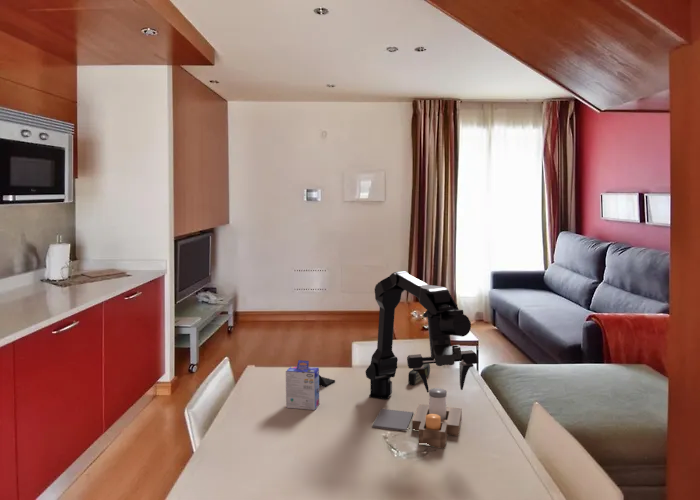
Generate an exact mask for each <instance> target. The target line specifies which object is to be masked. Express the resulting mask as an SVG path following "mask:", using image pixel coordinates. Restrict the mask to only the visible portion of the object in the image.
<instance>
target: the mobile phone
mask: <svg viewBox="0 0 700 500" xmlns="http://www.w3.org/2000/svg"><path fill="white" fill-rule="evenodd" d="M423 367H424V369H425V374H426V379H427V378H428V377H429V376H430V372H431V365H430V364H423ZM407 377H408V379H407V381H408V384H409V385H410V386H415V385H417V384H418V383H420V382H421V381H423V380H422V378H421V376H420V374H419V373H418V371H414V370H413V369H412V370H410V371H409V372H408V376H407ZM416 383H417V384H416Z"/></svg>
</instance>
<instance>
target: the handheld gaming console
mask: <svg viewBox="0 0 700 500" xmlns="http://www.w3.org/2000/svg"><path fill="white" fill-rule="evenodd" d="M335 383H336V380H335V379H332V378H327V377H325V376H321V375H320V374H319V385H320V386H319V387H322V388H327V387H328V386H329V387H330V386H331V385H333V384H335Z"/></svg>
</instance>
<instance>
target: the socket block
mask: <svg viewBox="0 0 700 500" xmlns="http://www.w3.org/2000/svg"><path fill="white" fill-rule="evenodd" d="M462 413H463V412H462V408H461V407H451V406H446V420H443V419H441V430H432V429H426V415H428V414H429V404H424V403H418V405H417V407H416V410H415V413H414V414H413V416H412V419H411V421H412V422H411V425H412V427H411V430H412V429H415V430H419V431H418V444H419V443H427V444H429V445H431V446H434V447H433V448H438V449H445V448H446V444H447V439H448V436H455V437H459V436H460V430H461V423H462V418H463V417H462V416H463V415H462Z"/></svg>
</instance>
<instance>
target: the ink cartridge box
mask: <svg viewBox="0 0 700 500" xmlns="http://www.w3.org/2000/svg"><path fill="white" fill-rule="evenodd" d="M302 363H303V364H305V365H303V364H302ZM309 363H310V361H309V360H300V359H299V360H298V361H297V366H289V368H288V369H287V370H286V371H285V402H286V403H285V408H288V409H297V410H298V409H299V410H300V409H301V410H313V411H315V410H316V409H317V408H318V406H319V405H320V386H319V375H320V367H316V366H315V367H314V366H313V367H311V366H309ZM301 364H302V365H301Z"/></svg>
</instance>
